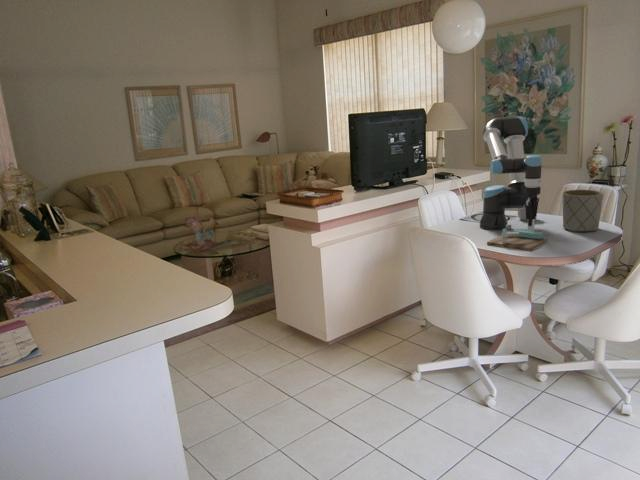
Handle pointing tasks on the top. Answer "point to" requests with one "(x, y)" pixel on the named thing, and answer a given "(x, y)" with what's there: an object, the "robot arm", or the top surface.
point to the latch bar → (526, 233)
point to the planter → (582, 210)
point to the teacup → (522, 214)
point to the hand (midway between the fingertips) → (530, 231)
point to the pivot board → (516, 241)
